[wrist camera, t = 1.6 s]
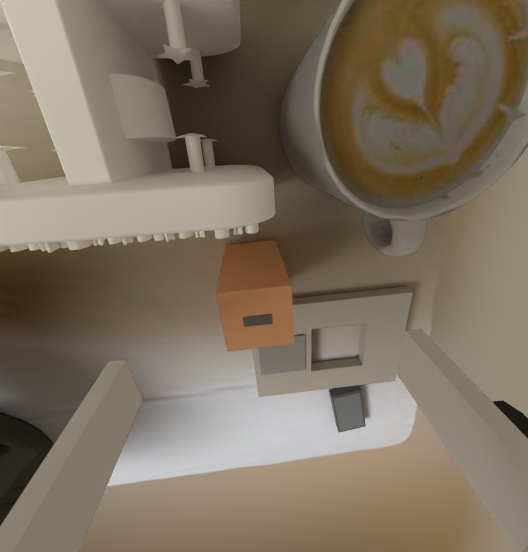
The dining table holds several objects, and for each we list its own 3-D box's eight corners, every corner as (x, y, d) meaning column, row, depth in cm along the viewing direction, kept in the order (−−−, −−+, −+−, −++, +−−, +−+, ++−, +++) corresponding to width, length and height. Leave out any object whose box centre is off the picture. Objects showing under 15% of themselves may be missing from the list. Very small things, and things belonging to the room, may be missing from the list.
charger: (232, 288, 24) (227, 352, 17) (225, 245, 22) (216, 294, 15) (278, 283, 24) (294, 344, 17) (275, 239, 22) (291, 285, 15)
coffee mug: (275, 40, 16) (312, -92, 8) (424, 27, 17) (632, -115, 8) (284, 237, 22) (312, 295, 13) (395, 226, 23) (494, 275, 14)
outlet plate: (258, 388, 30) (258, 398, 29) (247, 303, 25) (247, 311, 24) (389, 372, 31) (395, 382, 30) (405, 286, 26) (414, 293, 24)
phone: (336, 425, 35) (338, 432, 34) (328, 390, 31) (331, 397, 30) (362, 419, 34) (365, 426, 33) (357, 383, 31) (361, 390, 30)
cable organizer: (252, 23, 16) (268, -212, 6) (262, 195, 21) (281, 240, 10) (7, 34, 16) (-475, -205, 5) (74, 209, 20) (-106, 270, 10)
